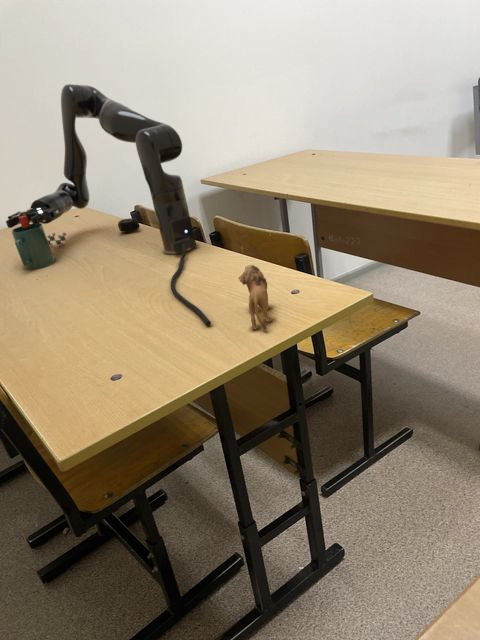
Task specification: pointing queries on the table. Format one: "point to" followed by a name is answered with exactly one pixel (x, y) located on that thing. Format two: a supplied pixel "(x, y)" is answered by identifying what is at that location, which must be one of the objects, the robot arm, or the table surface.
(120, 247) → the table surface
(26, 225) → the marker
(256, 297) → the brown animal figure
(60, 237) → the molecular model
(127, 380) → the table surface
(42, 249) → the mug
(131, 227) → the tape measure
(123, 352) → the table surface
